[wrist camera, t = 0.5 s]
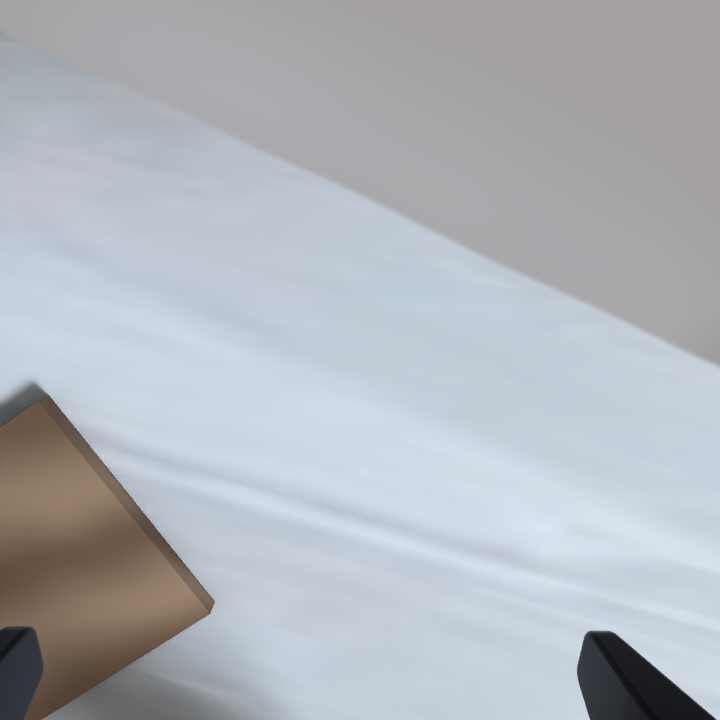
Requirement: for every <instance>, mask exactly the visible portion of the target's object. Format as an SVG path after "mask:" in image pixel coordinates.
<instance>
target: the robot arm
mask: <svg viewBox="0 0 720 720" xmlns="http://www.w3.org/2000/svg"><path fill="white" fill-rule="evenodd" d="M43 669H44V662H43V657H42V653H41V649H40V645H39V641H38V636H37V632H36V630H35V629H34V628H33V627H31V626H8V627H5V628H3V629H1V630H0V720H24V718H25V716H26V713H27V711H28V709H29V706H30V704H31V702H32V700H33V697H34V695H35V693H36V690H37V688H38V686H39V683H40V681H41V678H42V675H43ZM577 675H578V681H579V685H580V688H581V691H582V695H583V698H584V701H585V705H586V708H587V711H588V714H589V718H590V720H716V719H715V718H714V717H713V716H712V715H711V714H709V713H708V712H707V711H706V710H705V709H704V708H702V707H701V706H700V705H699V704H698V703H696V702H695V701H694V700H693V699H692V698H691V697H689V696H688V695H687V694H686V693H685V692H684V691H682V690H681V689H680V688H679V687H678V686H677V685H675V684H674V683H673V682H672V681H671V680H669V679H668V678H667V677H666V676H665V675H664V674H662V673H661V672H660V671H659V670H658V669H657V668H655V667H654V666H653V665H652V664H651V663H650V662H648V661H647V660H646V659H645V658H644V657H642V656H641V655H640V654H639V653H638V652H637V651H635V650H634V649H633V648H632V647H631V646H630V645H628V644H627V643H626V642H625V641H624V640H623V639H621V638H620V637H619V636H618V635H616V634H615V633H613V632H611V631H588V632H587V633H586V634H585V637H584V640H583V645H582V649H581V653H580V657H579V661H578V666H577Z"/></svg>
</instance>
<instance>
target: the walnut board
mask: <svg viewBox="0 0 720 720" xmlns="http://www.w3.org/2000/svg"><path fill="white" fill-rule="evenodd" d="M214 603H215V602H214V601H213V600H212V598H211V597H210V596H209V595H208V593H207V592H206V591H205V590H204V588H203V587H202V586H201V585H200V583H199V582H198V581H197V580H196V578H195V577H194V576H193V575H192V573H191V572H190V571H189V570H188V568H187V567H186V566H185V565H184V563H183V562H182V561H181V560H180V558H179V557H178V556H177V555H176V554H175V552H174V551H173V550H172V549H171V547H170V546H169V545H168V544H167V542H166V541H165V540H164V539H163V537H162V536H161V535H160V534H159V532H158V531H157V530H156V529H155V527H154V526H153V525H152V524H151V522H150V521H149V520H148V519H147V517H146V516H145V515H144V514H143V513H142V511H141V510H140V509H139V508H138V506H137V505H136V504H135V503H134V501H133V500H132V499H131V498H130V496H129V495H128V494H127V493H126V491H125V490H124V489H123V488H122V486H121V485H120V484H119V483H118V481H117V480H116V479H115V478H114V476H113V475H112V474H111V473H110V471H109V470H108V469H107V468H106V467H105V465H104V464H103V463H102V462H101V460H100V459H99V458H98V457H97V455H96V454H95V453H94V452H93V450H92V449H91V448H90V447H89V445H88V444H87V443H86V442H85V440H84V439H83V438H82V437H81V435H80V434H79V433H78V432H77V430H76V429H75V428H74V427H73V425H72V424H71V423H70V422H69V421H68V419H67V418H66V417H65V416H64V414H63V413H62V412H61V411H60V409H59V408H58V407H57V406H56V404H55V403H54V402H53V401H52V399H51V398H50V397H47V398H45V399H42V400H40V401H38V402H36V403H35V404H33V405H32V406H30V407H29V408H27V409H26V410H25V411H23V412H22V413H20V414H19V415H17V416H16V417H14V418H13V419H11V420H10V421H9V422H7V423H6V424H4V425H3V426H1V427H0V630H1V629H3V628H5V627H8V626H31V627H33V628H34V629H35V630H36V632H37V636H38V641H39V645H40V649H41V653H42V657H43V662H44V669H43V675H42V678H41V681H40V683H39V686H38V688H37V690H36V693H35V695H34V697H33V700H32V702H31V704H30V706H29V709H28V711H27V713H26V716H25V718H24V720H42V719H43V718H45V717H47V716H48V715H50V714H51V713H53V712H55V711H56V710H58V709H59V708H61V707H62V706H64V705H66V704H67V703H69V702H70V701H72V700H74V699H75V698H77V697H78V696H80V695H82V694H83V693H85V692H86V691H88V690H90V689H91V688H93V687H94V686H96V685H97V684H99V683H101V682H102V681H104V680H105V679H107V678H109V677H110V676H112V675H113V674H115V673H117V672H118V671H120V670H121V669H123V668H125V667H126V666H128V665H129V664H131V663H132V662H134V661H136V660H137V659H139V658H140V657H142V656H144V655H145V654H147V653H148V652H150V651H152V650H153V649H155V648H156V647H158V646H160V645H161V644H163V643H164V642H166V641H167V640H169V639H171V638H172V637H174V636H175V635H177V634H179V633H180V632H182V631H183V630H185V629H187V628H188V627H190V626H191V625H193V624H195V623H196V622H198V621H199V620H201V619H202V618H204V617H206V616H207V615H209V614H210V613H211V610H212V608H213V605H214Z"/></svg>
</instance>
